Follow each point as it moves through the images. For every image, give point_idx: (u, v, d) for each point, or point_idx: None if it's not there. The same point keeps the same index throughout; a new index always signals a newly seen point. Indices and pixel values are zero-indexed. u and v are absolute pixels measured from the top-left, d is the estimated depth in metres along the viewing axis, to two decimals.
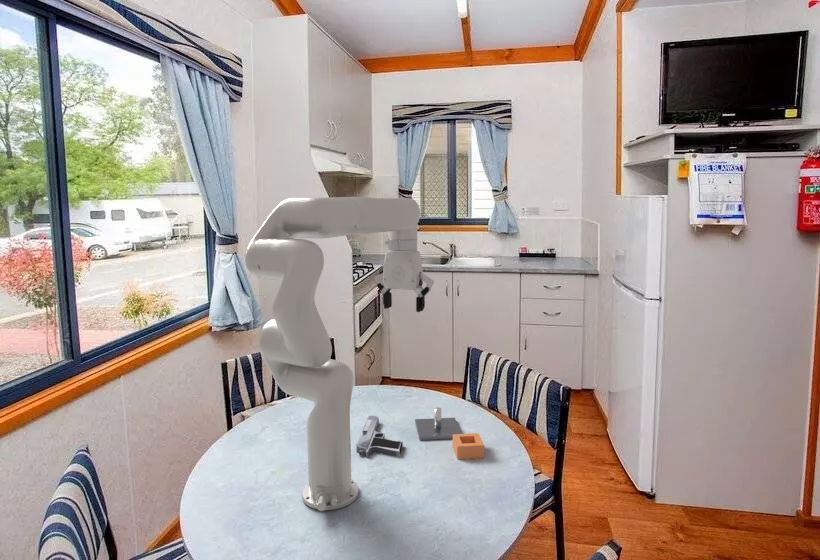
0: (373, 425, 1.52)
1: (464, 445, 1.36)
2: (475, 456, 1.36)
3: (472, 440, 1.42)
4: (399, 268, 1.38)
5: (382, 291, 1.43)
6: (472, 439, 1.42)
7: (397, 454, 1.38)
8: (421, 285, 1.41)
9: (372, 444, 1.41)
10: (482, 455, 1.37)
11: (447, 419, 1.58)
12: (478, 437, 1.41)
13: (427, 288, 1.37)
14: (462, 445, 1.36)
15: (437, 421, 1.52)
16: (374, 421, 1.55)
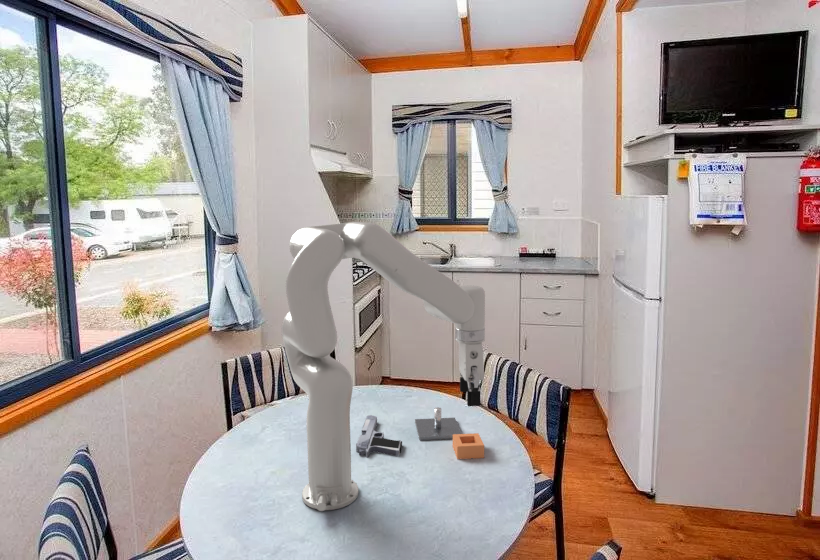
0: (372, 425, 1.52)
1: (464, 445, 1.36)
2: (475, 456, 1.36)
3: (472, 440, 1.42)
4: None
5: None
6: (472, 439, 1.42)
7: (397, 453, 1.38)
8: (460, 368, 1.41)
9: (372, 444, 1.41)
10: (482, 455, 1.37)
11: (447, 419, 1.58)
12: (478, 437, 1.41)
13: None
14: (462, 445, 1.36)
15: (437, 421, 1.52)
16: (373, 421, 1.55)
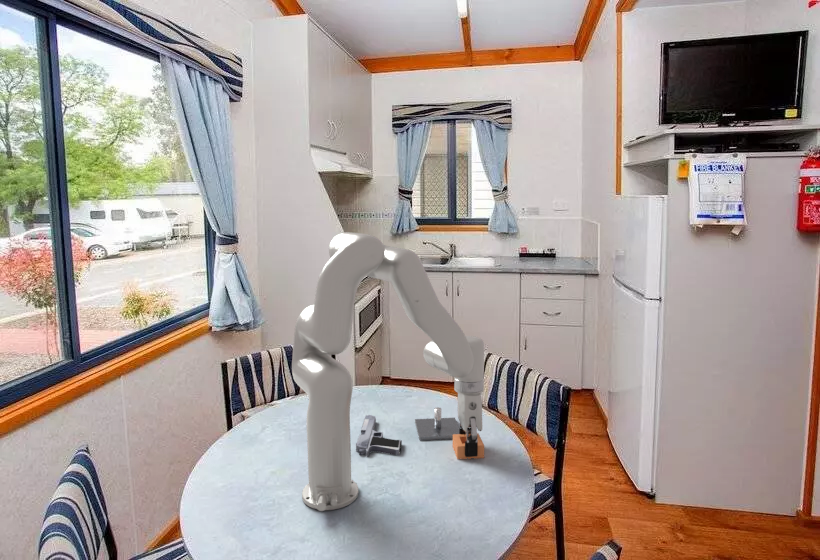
0: (371, 424, 1.53)
1: (464, 445, 1.36)
2: (475, 456, 1.36)
3: None
4: None
5: None
6: None
7: (397, 452, 1.38)
8: (459, 418, 1.43)
9: (371, 443, 1.41)
10: (482, 455, 1.37)
11: (447, 419, 1.58)
12: (478, 437, 1.41)
13: None
14: (462, 445, 1.36)
15: (437, 421, 1.52)
16: (372, 421, 1.55)
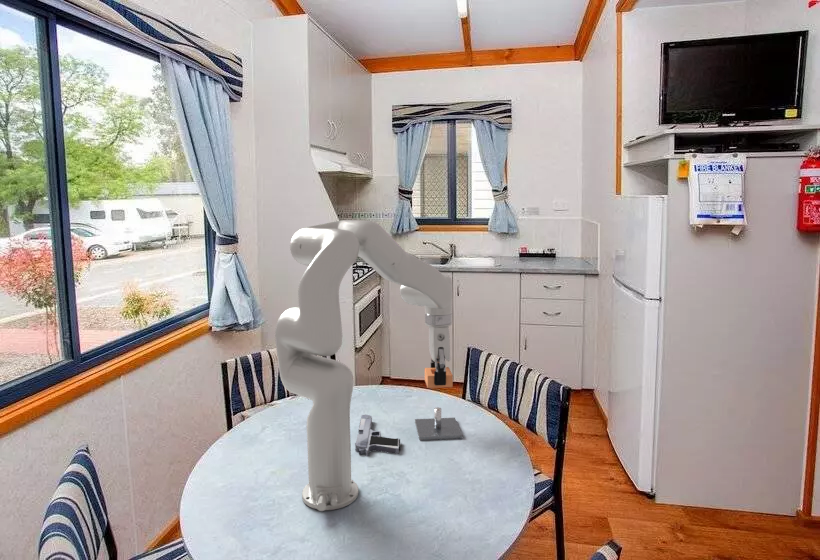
0: (368, 424, 1.53)
1: None
2: (444, 385, 1.48)
3: None
4: None
5: None
6: None
7: (397, 451, 1.39)
8: None
9: (371, 442, 1.41)
10: (451, 384, 1.48)
11: (447, 419, 1.58)
12: (448, 369, 1.52)
13: None
14: (432, 375, 1.47)
15: (437, 421, 1.52)
16: (368, 420, 1.55)
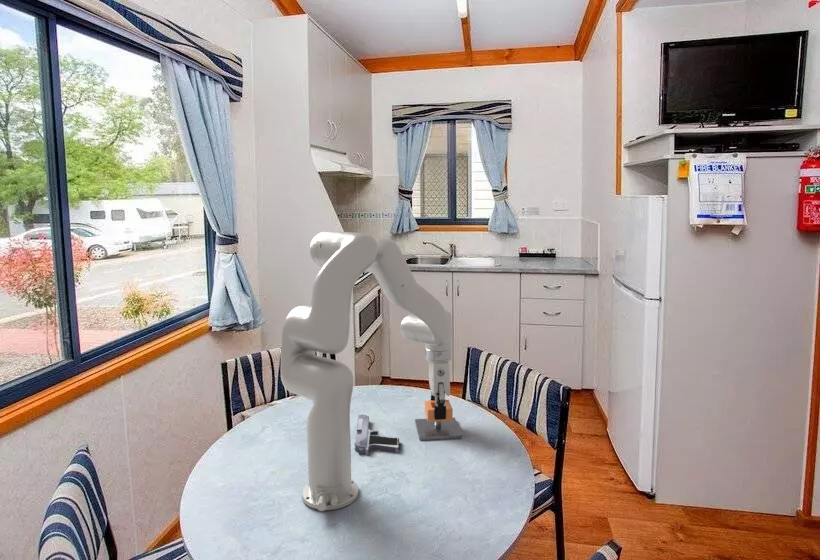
0: (366, 424, 1.53)
1: None
2: (444, 419, 1.49)
3: None
4: None
5: None
6: None
7: (396, 450, 1.40)
8: None
9: (370, 442, 1.42)
10: (451, 418, 1.49)
11: None
12: (448, 403, 1.53)
13: None
14: (432, 409, 1.49)
15: None
16: (366, 420, 1.56)
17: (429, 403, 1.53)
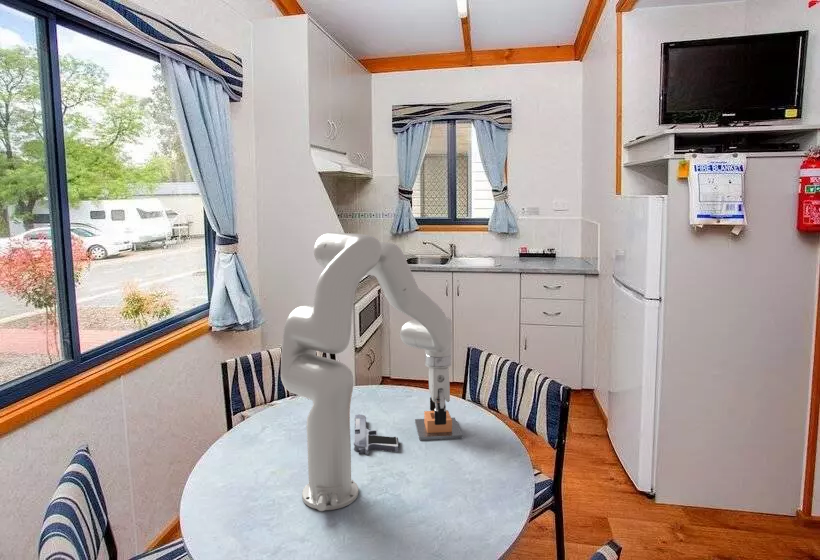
0: (363, 423, 1.53)
1: (433, 420, 1.49)
2: (444, 430, 1.49)
3: None
4: None
5: None
6: None
7: (396, 449, 1.40)
8: None
9: (369, 442, 1.42)
10: (450, 429, 1.50)
11: None
12: (447, 413, 1.54)
13: None
14: (432, 420, 1.49)
15: None
16: (363, 420, 1.56)
17: (428, 414, 1.53)
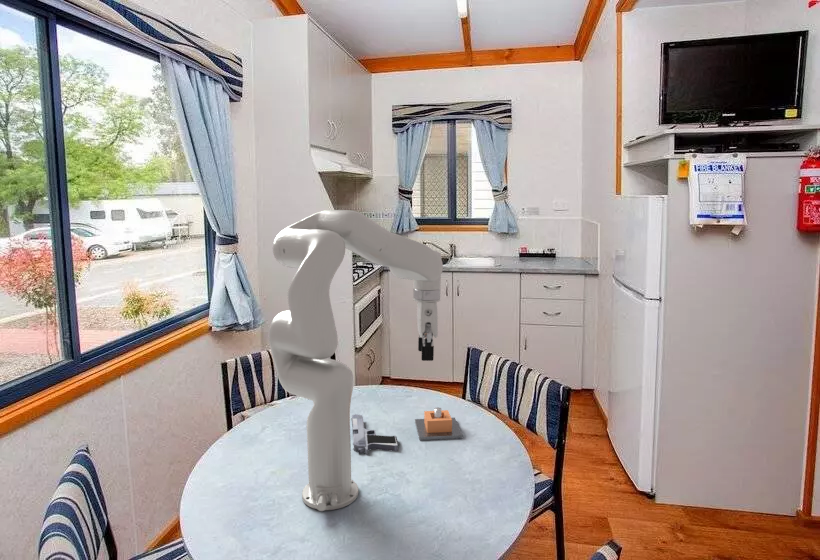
0: (361, 423, 1.53)
1: (433, 420, 1.49)
2: (444, 430, 1.49)
3: (442, 416, 1.55)
4: None
5: None
6: (442, 415, 1.55)
7: (396, 448, 1.41)
8: None
9: (369, 441, 1.42)
10: (450, 429, 1.50)
11: None
12: (447, 413, 1.54)
13: None
14: (432, 420, 1.49)
15: None
16: (360, 420, 1.56)
17: (428, 414, 1.53)
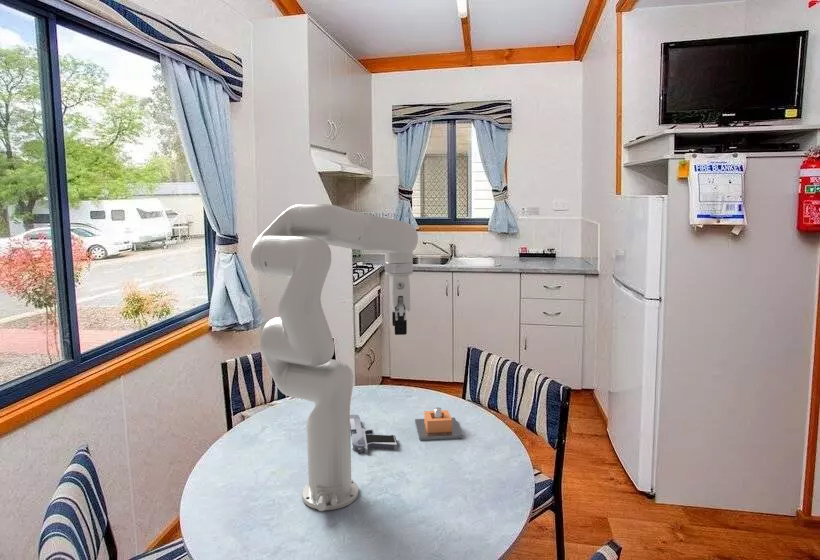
0: (358, 423, 1.53)
1: (433, 420, 1.49)
2: (444, 430, 1.49)
3: (442, 416, 1.55)
4: None
5: None
6: (442, 415, 1.55)
7: (395, 447, 1.41)
8: None
9: (368, 441, 1.42)
10: (450, 429, 1.50)
11: None
12: (447, 413, 1.54)
13: None
14: (432, 420, 1.49)
15: None
16: (357, 420, 1.56)
17: (428, 414, 1.53)
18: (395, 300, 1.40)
